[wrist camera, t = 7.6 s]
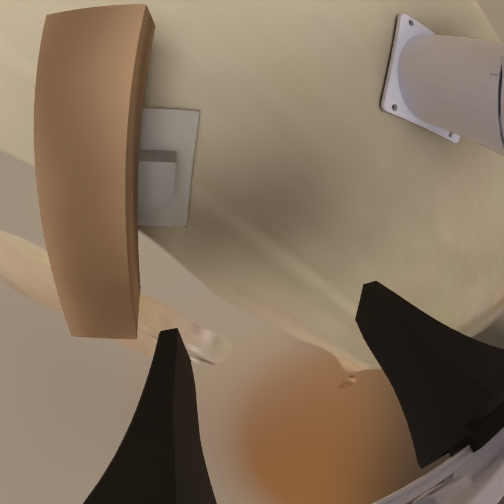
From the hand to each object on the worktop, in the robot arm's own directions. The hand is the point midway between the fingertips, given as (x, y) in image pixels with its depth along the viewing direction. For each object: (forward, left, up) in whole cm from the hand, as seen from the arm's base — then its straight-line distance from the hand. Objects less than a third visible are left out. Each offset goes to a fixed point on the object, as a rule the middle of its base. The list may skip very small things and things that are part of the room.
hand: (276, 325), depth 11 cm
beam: (+7, -3, -7) cm, 10 cm away
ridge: (+7, -3, -10) cm, 13 cm away
